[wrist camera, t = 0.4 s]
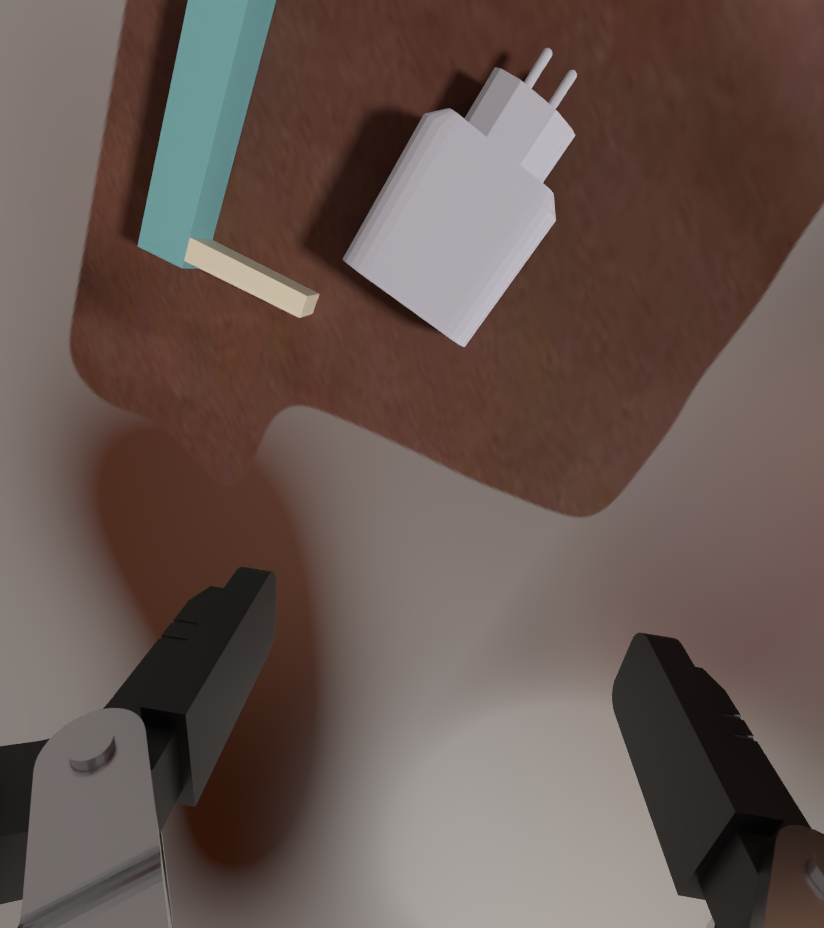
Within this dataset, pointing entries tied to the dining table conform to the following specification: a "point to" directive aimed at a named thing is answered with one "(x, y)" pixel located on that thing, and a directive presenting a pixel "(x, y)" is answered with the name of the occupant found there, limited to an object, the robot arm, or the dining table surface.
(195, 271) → the dining table surface
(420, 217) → the charger
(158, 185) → the stop bay
